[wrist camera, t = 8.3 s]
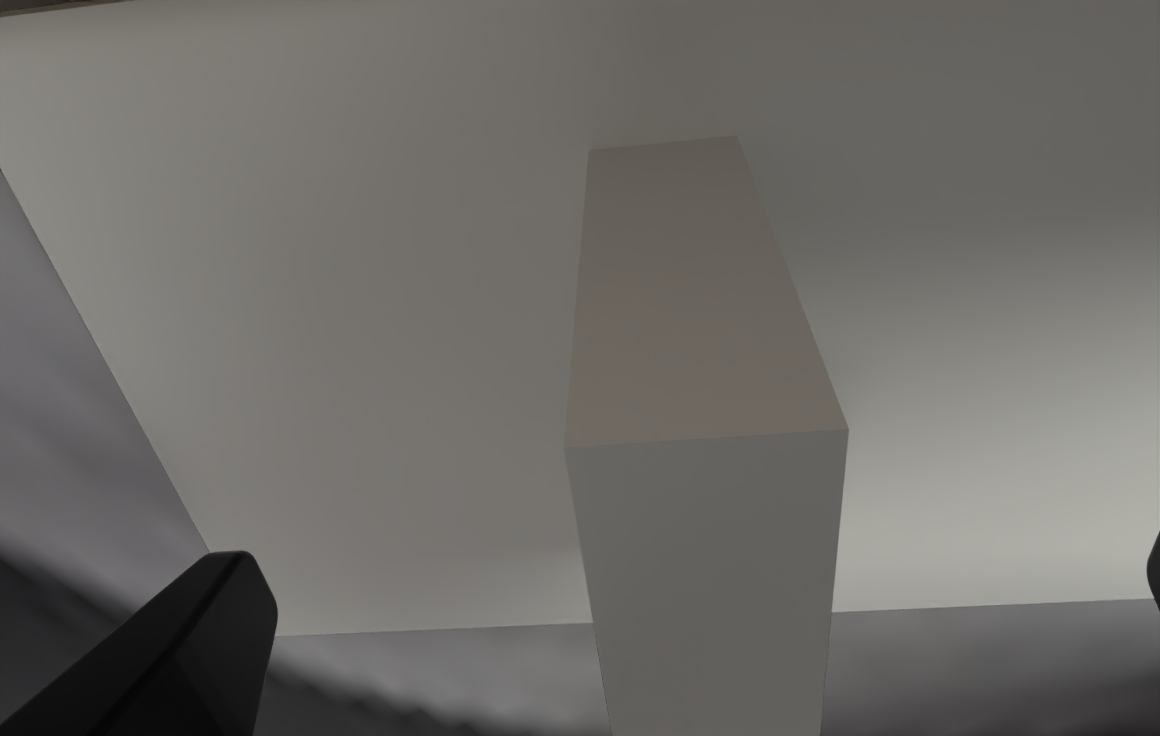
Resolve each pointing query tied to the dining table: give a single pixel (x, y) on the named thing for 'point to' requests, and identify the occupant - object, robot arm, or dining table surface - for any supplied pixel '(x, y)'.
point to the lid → (622, 309)
